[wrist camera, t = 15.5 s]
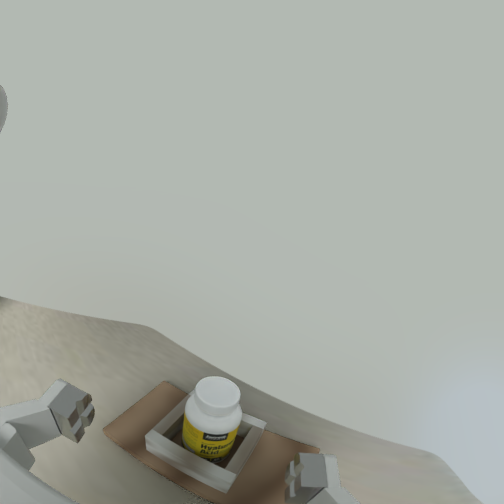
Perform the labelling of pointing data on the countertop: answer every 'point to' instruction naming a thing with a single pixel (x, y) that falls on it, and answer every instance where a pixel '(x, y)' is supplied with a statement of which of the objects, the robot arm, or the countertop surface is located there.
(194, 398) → the supplement bottle
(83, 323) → the countertop surface
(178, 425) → the jig board
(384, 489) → the countertop surface
